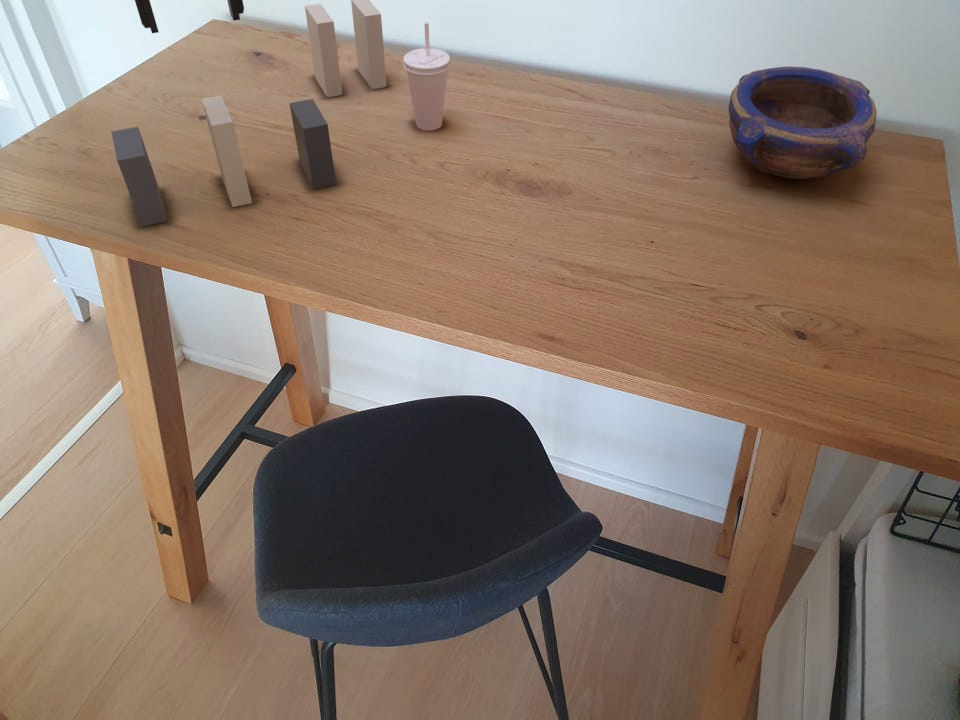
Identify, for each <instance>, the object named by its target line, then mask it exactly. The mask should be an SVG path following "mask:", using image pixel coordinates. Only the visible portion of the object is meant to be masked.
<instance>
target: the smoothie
mask: <svg viewBox="0 0 960 720" xmlns="http://www.w3.org/2000/svg"><path fill="white" fill-rule="evenodd" d="M424 45H425V46H424V47H425V48H422V47H421V48H417V49H412V50H410V51H408V52H407V53H405V55H403V59H402V60H403V61H402V62H403V64H402V66H403V68H404V69H405V71H406V76H407V81H408V86H409V87H408V88H409V92H410V97H411V104H412V108H413V114H414V120H415V125H416V127H417V128H418V129H420V130H421V131H427V132H428V131H436V130H438V129H440V128H441V127H442V126H443V118H444V109H445V99H446V91H447V82H448V81H447V80H448V71H449V69H450V68H451V57H450V55H449V54H448V53H447V52H445V51H444V50H441V49H437V48H430V47H431V46H430V25H429V22H424Z"/></svg>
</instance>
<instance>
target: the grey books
mask: <svg viewBox="0 0 960 720" xmlns="http://www.w3.org/2000/svg"><path fill="white" fill-rule="evenodd" d="M289 108H290V114H291V120H292V125H293V132H294V138H295V143H296V148H297V154H298V159H299V164H300V167H301V168H302V170H303V171H304V174H305V176H306V178H307V179H308V182H309V184H310V185H311V187H312V189H313V190H318V189H323V188H327V187H328V188H329V187H333V186H336V185H337V180H336V174H335V166H334V165H335V164H334V159H333V152H332V151H333V150H332V145H331V137H330V131H329V124H328V122H327V121H326V119H325V117H324V115H323V114H322V112H321V110H320V109H319V107H318V105H317V104H316V102H315V100H314V99H313V98H310V99H305V100H299V101H293V102H290V103H289ZM111 136H112V142H113V147H114V151H115V156H116V161H117V162H116V163H117V164H118V167H119V169H120V172H121V175H122V178H123V180H124V183H125V185H126V189H127V191H128V194H129V197H130V199H131V202H132V205H133V209H134V211H135V213H136V216H137V219H138V221H139V224H140V226H141V228H143V227H149V226H153V225H157V224H162V223H167V222H168V218H167V214H166V210H165V207H164V202H163V199H162V194H161V191H160V188H159V185H158V182H157V178H156V176H155V172H154V170H153V167H152V164H151V160H150V158H149V155H148V151H147V149H146V146H145V142H144V140H143V137H142V134H141V131H140V128H139V126H133V127H128V128H123V129H117V130H112V131H111Z"/></svg>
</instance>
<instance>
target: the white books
mask: <svg viewBox="0 0 960 720" xmlns="http://www.w3.org/2000/svg"><path fill="white" fill-rule="evenodd" d="M350 2H351V13H352V24H353V32H354V41H355V50H356V59H357V70H358V72H359V74H360V75H361V77H362V78H363V79H364V81H365V82H366V83H367V85H368V86H369V87H370V89H371V90H377V89H382V88H387V86H388V85H387V72H386V60H385V49H384V46H385V45H384V36H383V21H382V13H381V12H380V11H379V10H378V9H377V8H376V6H375V5H374V4H373V3H372V1H371V0H350ZM304 11H305V17H306V25H307V30H308V39H309V45H310V51H311V58H312V65H313V72H314V78H315V80H316V82H317V83H318V85H319V87H320V88H321V90H322V91H323V93H324V95H325V96H326V97H327V98H333V97H339V96H343V87H342V79H341V71H340V62H339V61H340V60H339V55H338V54H339V53H338V45H337V37H336V30H335V22H334V20H333V18H332V17H331V16H330V15H329V13H328V12H327V10H326V9H325V8H324V6H323V5H322V4H321V3H314V4H308V5H304Z"/></svg>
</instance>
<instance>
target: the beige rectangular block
mask: <svg viewBox="0 0 960 720" xmlns="http://www.w3.org/2000/svg"><path fill="white" fill-rule="evenodd" d="M201 103H202V107H203V111H204V114H205V118H206V122H207V126H208V130H209V133H210V136H211V141H212V144H213V149H214V152H215V156H216V160H217V164H218V168H219V171H220V176H221V179H222V182H223V185H224V186H225V190H226V193H227V195H228V198H229V201H230V204H231V206H232V208H236V207H241V206H245V205H250V204H253V201H252V197H251V192H250V188H249V185H248V184H249V183H248V179H247V176H246V171H245V166H244V163H243V162H244V161H243V159H242V154H241V150H240V145H239V141H238V138H237V134H236V129H235V124H234V121H233V119H232V116H231V114H230V111H229V109H228V107H227V104H226V102H225V100H224V97H223V95H215V96H210V97H203V98H201Z"/></svg>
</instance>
